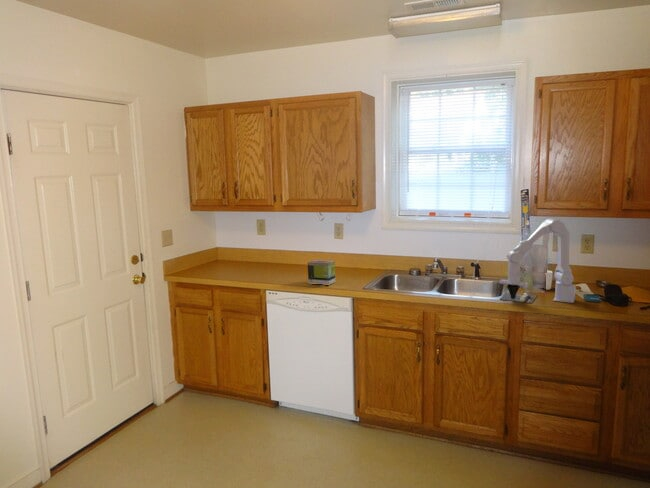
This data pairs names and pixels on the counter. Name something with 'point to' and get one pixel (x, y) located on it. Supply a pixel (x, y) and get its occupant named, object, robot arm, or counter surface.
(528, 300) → the lock plate
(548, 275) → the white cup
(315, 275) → the tea box
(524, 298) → the lever
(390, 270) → the counter surface
